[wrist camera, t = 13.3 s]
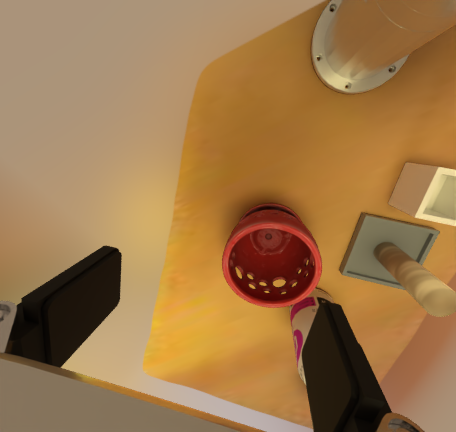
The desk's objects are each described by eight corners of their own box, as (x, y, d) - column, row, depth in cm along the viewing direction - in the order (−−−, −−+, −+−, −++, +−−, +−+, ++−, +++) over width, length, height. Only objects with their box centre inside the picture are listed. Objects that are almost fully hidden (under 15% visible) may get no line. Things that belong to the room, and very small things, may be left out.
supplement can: (288, 321, 46) (298, 399, 32) (289, 285, 44) (300, 353, 30) (331, 323, 45) (362, 406, 31) (334, 286, 42) (369, 358, 28)
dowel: (378, 239, 38) (432, 286, 25) (401, 244, 37) (467, 294, 25) (370, 258, 39) (418, 311, 27) (392, 263, 39) (451, 320, 26)
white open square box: (405, 162, 34) (438, 166, 28) (452, 171, 34) (497, 178, 27) (387, 203, 37) (414, 217, 30) (431, 213, 36) (468, 228, 29)
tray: (361, 212, 38) (366, 215, 36) (432, 227, 37) (439, 231, 35) (339, 269, 41) (341, 274, 40) (403, 285, 40) (408, 290, 39)
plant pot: (223, 211, 41) (207, 236, 30) (296, 189, 38) (309, 208, 27) (245, 273, 44) (238, 318, 33) (315, 258, 41) (333, 301, 30)
